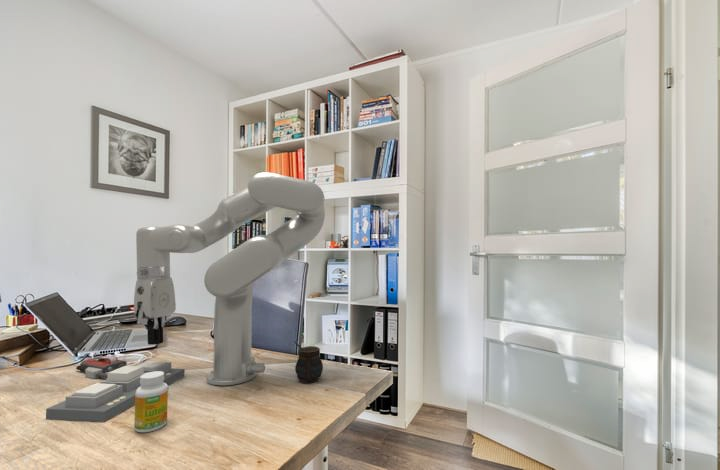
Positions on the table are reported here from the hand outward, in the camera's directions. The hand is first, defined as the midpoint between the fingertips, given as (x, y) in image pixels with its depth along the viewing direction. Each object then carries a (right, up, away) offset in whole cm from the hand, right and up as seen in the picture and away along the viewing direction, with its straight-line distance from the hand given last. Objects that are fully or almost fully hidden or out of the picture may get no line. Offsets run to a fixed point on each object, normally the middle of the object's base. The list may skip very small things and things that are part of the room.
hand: (155, 343), depth 88 cm
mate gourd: (+40, -10, -1) cm, 42 cm away
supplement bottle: (+14, -9, -24) cm, 28 cm away
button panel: (-2, -9, -9) cm, 13 cm away
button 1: (-1, -7, -1) cm, 7 cm away
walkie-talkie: (-18, -11, +6) cm, 22 cm away
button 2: (-2, -6, -8) cm, 10 cm away
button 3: (-3, -6, -16) cm, 18 cm away
